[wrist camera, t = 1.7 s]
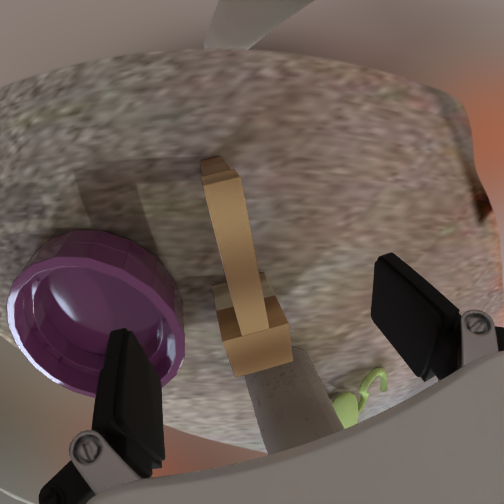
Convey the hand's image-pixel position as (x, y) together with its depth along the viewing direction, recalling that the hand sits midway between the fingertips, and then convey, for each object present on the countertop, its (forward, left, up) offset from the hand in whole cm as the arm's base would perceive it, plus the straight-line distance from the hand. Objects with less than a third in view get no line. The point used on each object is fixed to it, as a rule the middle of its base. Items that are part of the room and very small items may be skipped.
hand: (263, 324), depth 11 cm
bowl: (+7, -13, -14) cm, 20 cm away
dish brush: (+4, 0, -14) cm, 15 cm away
